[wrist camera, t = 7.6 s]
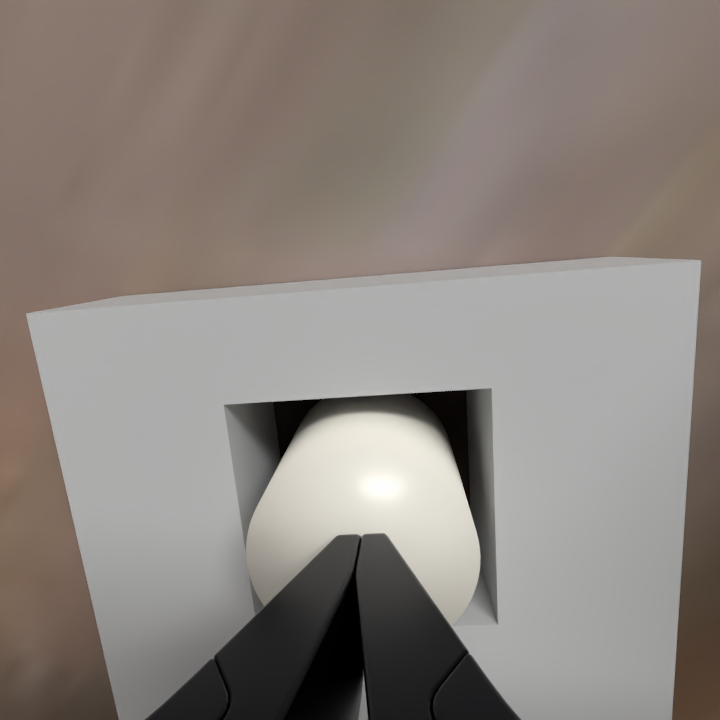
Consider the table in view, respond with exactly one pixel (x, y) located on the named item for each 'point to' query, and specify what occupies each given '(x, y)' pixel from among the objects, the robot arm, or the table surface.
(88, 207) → the table surface
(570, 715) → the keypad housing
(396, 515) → the key ivory
